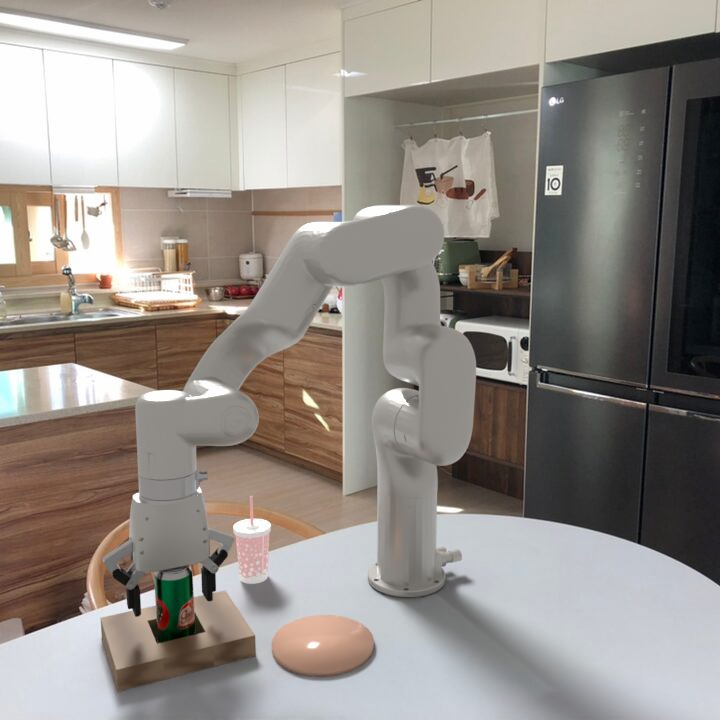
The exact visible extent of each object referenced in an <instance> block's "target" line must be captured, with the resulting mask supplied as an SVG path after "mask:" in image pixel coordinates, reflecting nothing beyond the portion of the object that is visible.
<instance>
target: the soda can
mask: <svg viewBox="0 0 720 720" xmlns="http://www.w3.org/2000/svg"><path fill="white" fill-rule="evenodd" d="M153 579H154V597H155V598H154V600H155V606H156V619H157V636H158V638H157V644H158V643H162V642H166V641H170V640H175V639H179V638H183V637H187V636H191V635H195V634H196V631H195V614H194V597H195V596H194V575H193V568H192V567H191V565H189V566H184V567H179V568H174V569H168V570H163V571H157V572H153Z"/></svg>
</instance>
